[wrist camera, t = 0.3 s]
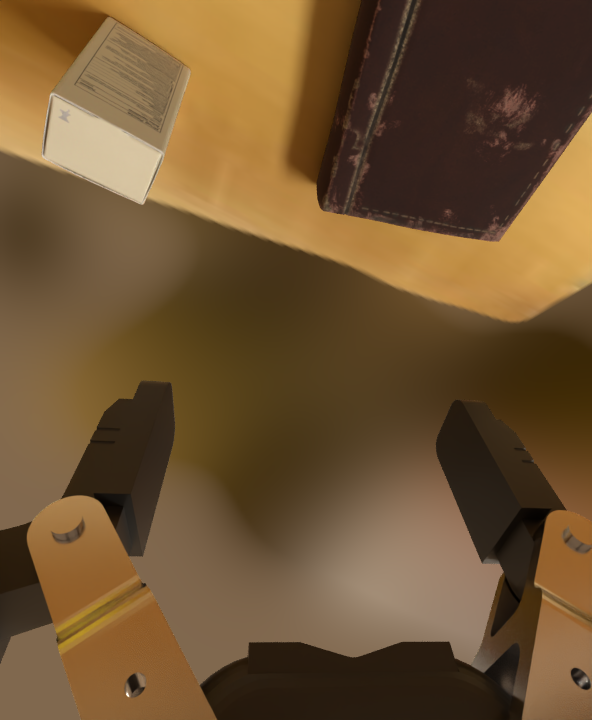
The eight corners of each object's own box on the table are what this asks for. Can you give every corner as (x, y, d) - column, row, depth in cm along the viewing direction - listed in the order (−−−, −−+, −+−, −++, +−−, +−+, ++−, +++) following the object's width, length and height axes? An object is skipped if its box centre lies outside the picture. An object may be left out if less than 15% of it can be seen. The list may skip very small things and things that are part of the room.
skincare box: (94, 73, 31) (33, 156, 24) (108, 12, 28) (42, 86, 21) (176, 122, 34) (143, 209, 27) (196, 71, 31) (164, 154, 24)
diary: (314, 180, 39) (314, 212, 36) (432, -317, 19) (453, -339, 16) (494, 215, 41) (508, 247, 38) (765, -193, 21) (837, -192, 19)
